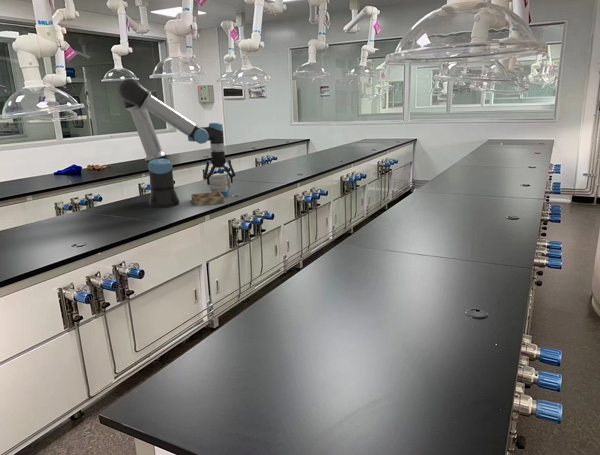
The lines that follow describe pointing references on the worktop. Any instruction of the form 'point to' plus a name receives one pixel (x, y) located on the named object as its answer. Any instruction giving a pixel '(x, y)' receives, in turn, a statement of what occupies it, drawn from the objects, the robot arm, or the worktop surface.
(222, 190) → the ink box
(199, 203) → the maple tray
